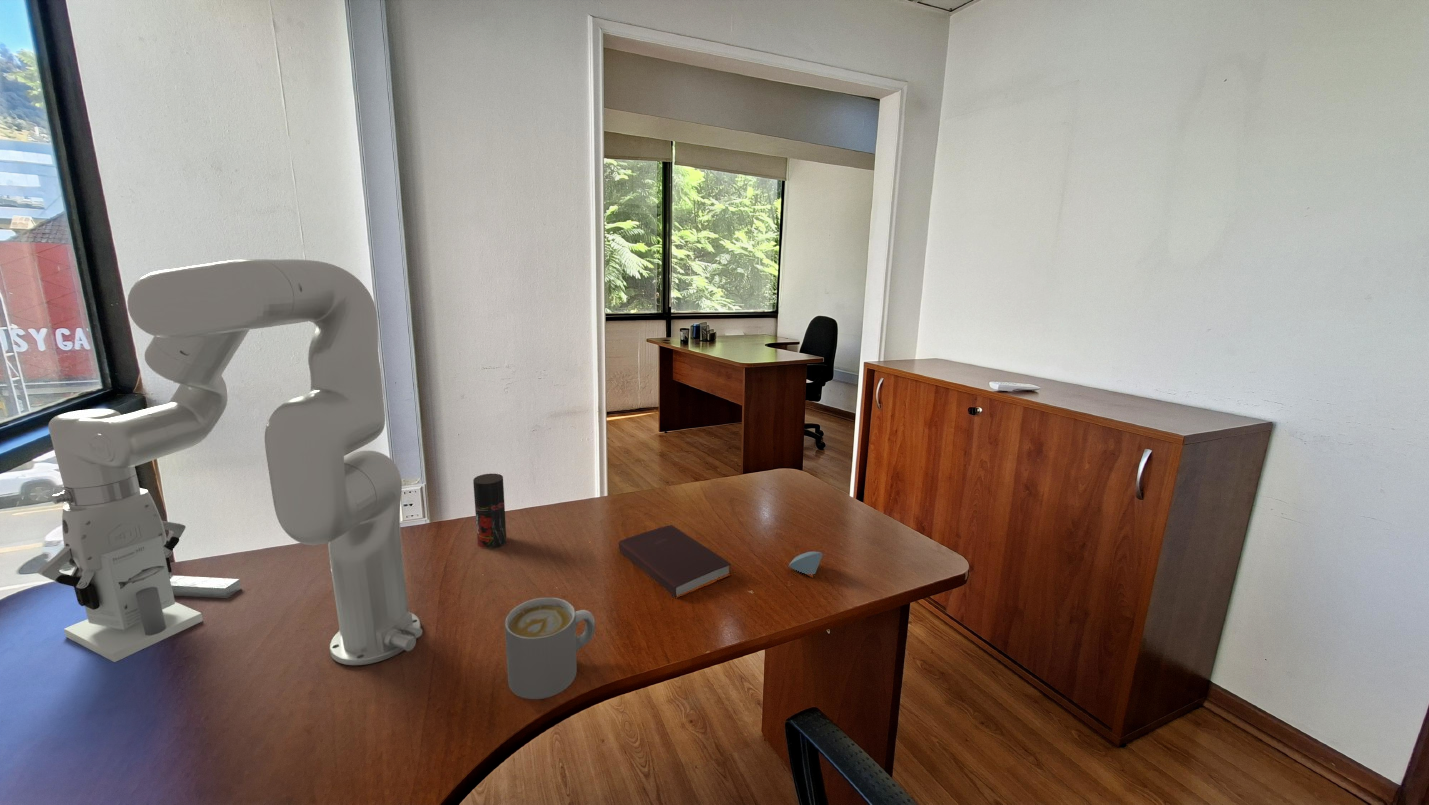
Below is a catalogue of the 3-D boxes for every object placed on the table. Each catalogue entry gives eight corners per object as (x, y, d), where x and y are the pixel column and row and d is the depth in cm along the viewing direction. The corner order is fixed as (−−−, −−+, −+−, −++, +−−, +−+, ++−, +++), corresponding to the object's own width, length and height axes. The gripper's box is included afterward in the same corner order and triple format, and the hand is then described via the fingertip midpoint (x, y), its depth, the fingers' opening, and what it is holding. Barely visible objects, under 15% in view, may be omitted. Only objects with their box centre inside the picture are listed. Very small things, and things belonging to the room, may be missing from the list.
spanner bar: (244, 586, 103) (242, 577, 103) (223, 600, 99) (221, 590, 98) (159, 582, 103) (156, 572, 103) (134, 595, 99) (132, 585, 99)
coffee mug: (513, 708, 78) (510, 646, 75) (503, 663, 86) (500, 606, 84) (606, 679, 84) (606, 621, 81) (589, 640, 92) (588, 586, 90)
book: (674, 602, 104) (674, 584, 103) (617, 553, 121) (617, 538, 120) (731, 579, 113) (732, 562, 112) (671, 536, 129) (672, 522, 128)
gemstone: (836, 568, 111) (826, 545, 114) (802, 579, 109) (792, 554, 111) (823, 578, 118) (814, 555, 120) (790, 588, 115) (782, 565, 118)
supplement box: (124, 631, 86) (105, 557, 83) (87, 624, 87) (67, 551, 84) (177, 603, 93) (162, 534, 90) (143, 597, 94) (126, 529, 91)
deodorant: (512, 541, 124) (508, 477, 120) (489, 551, 119) (484, 486, 115) (495, 533, 127) (491, 471, 123) (471, 543, 122) (467, 479, 118)
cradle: (203, 621, 93) (194, 575, 91) (115, 662, 83) (102, 612, 81) (154, 599, 98) (144, 556, 96) (65, 636, 88) (52, 588, 86)
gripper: (31, 517, 76) (63, 630, 80) (188, 475, 91) (208, 571, 96) (5, 507, 78) (37, 616, 82) (162, 468, 94) (182, 561, 98)
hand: (128, 591), depth 89 cm, fingers closed on supplement box, 8 cm apart
